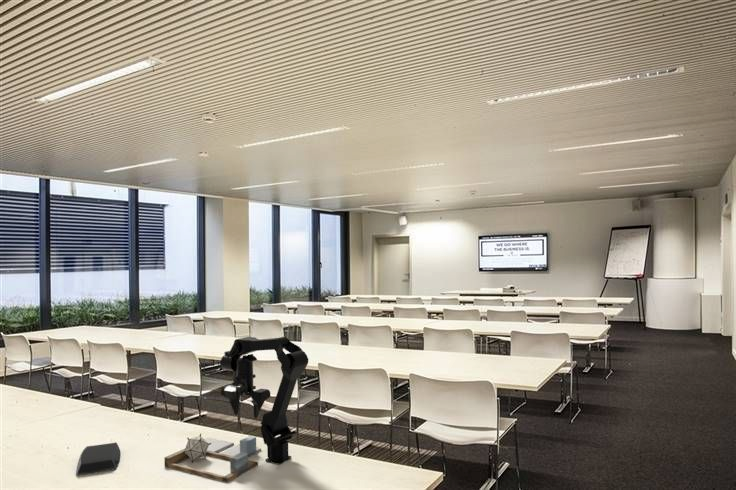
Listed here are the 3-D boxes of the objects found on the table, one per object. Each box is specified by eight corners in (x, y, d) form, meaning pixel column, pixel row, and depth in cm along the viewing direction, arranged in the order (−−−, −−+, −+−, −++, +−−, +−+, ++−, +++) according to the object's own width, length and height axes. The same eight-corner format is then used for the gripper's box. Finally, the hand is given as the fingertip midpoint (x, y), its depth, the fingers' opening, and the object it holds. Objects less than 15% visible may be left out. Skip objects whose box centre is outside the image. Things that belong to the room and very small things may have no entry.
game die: (202, 471, 183) (211, 452, 179) (177, 465, 180) (186, 446, 176) (206, 449, 190) (215, 430, 186) (182, 444, 188) (191, 425, 184)
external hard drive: (73, 478, 172) (73, 465, 172) (81, 456, 190) (81, 445, 190) (118, 471, 176) (117, 458, 176) (122, 451, 194) (122, 439, 194)
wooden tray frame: (257, 465, 177) (257, 448, 177) (227, 482, 164) (226, 464, 164) (197, 451, 190) (196, 436, 190) (164, 466, 178) (164, 449, 178)
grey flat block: (261, 450, 190) (260, 435, 190) (241, 460, 181) (241, 444, 181) (208, 439, 203) (207, 424, 203) (187, 448, 194) (187, 433, 194)
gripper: (209, 375, 189) (210, 419, 188) (249, 380, 179) (250, 427, 179) (231, 368, 198) (232, 410, 198) (270, 373, 189) (271, 417, 189)
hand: (245, 416), depth 191 cm, fingers open, 9 cm apart
